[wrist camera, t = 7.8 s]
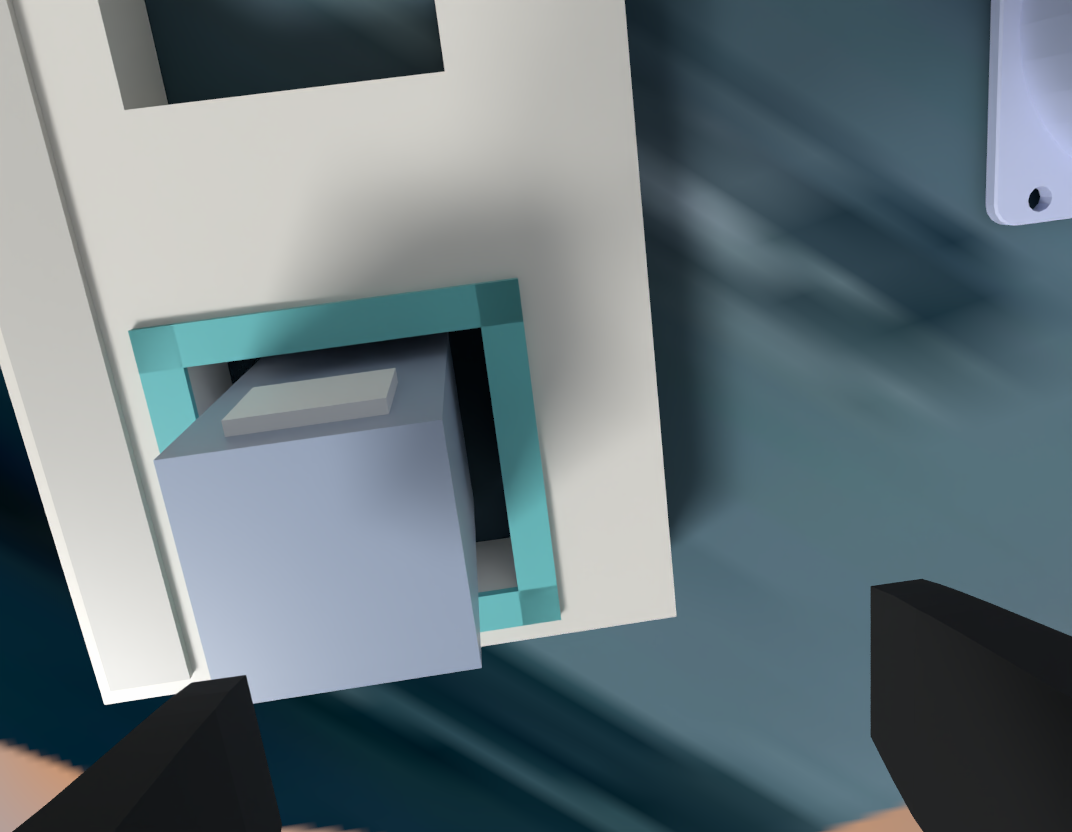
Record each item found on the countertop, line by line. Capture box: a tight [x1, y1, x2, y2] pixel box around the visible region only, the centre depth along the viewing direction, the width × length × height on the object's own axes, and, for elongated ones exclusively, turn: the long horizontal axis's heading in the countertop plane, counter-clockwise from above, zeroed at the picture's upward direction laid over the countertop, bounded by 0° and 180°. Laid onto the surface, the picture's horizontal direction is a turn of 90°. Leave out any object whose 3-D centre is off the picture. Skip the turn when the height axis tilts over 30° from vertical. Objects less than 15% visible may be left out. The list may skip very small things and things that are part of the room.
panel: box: [0, 0, 676, 705], centre depth 16 cm, size 12×18×3 cm, turn 7°
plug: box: [153, 332, 482, 703], centre depth 16 cm, size 4×4×7 cm
